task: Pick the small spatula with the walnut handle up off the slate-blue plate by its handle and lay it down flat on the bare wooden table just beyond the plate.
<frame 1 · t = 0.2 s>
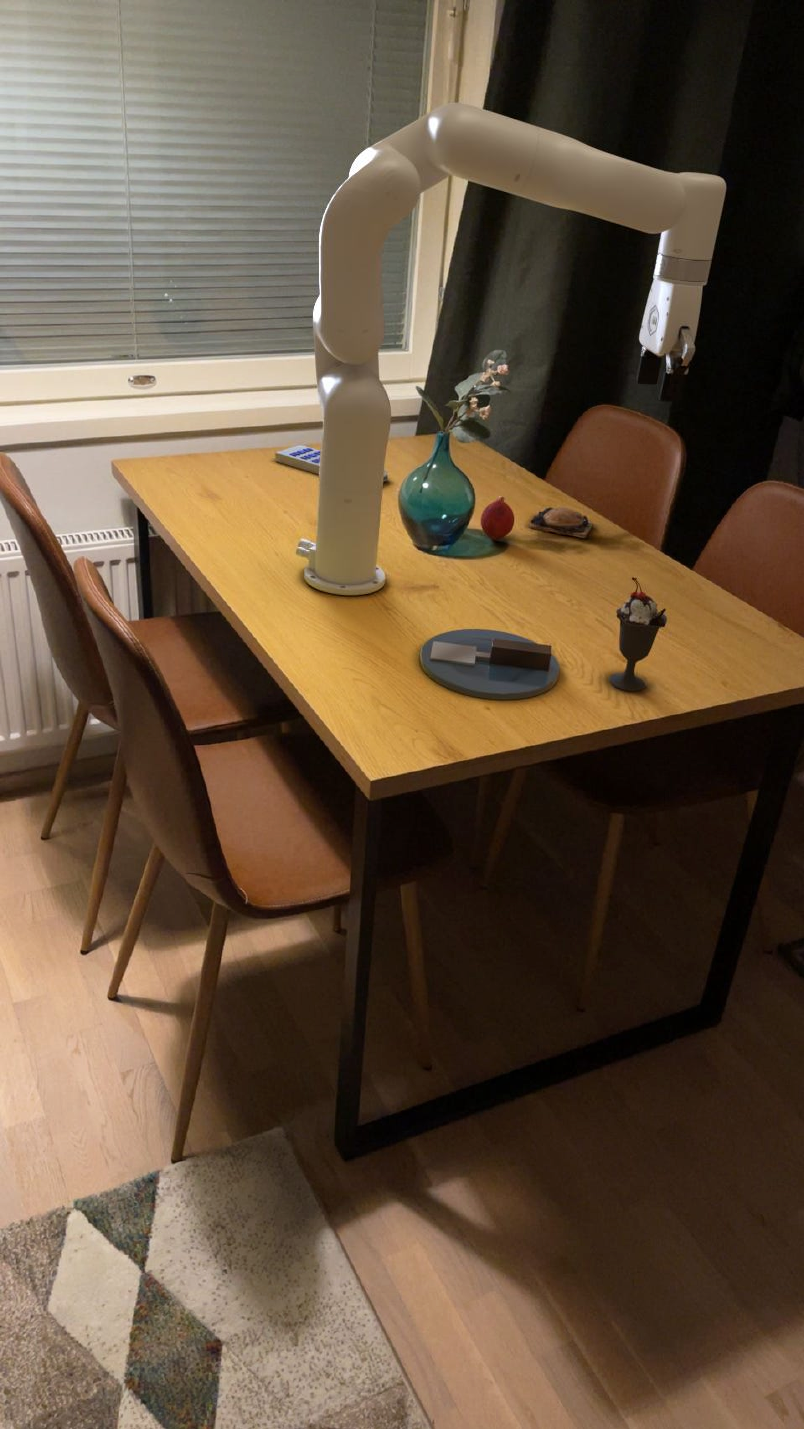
hand: (657, 392, 167), 31 cm above the table, tool pointing down, fingers open, 9 cm apart
remote control: (330, 471, 221), on the table
spatula: (489, 659, 153), point 1 cm above the table, touching plate
plate: (489, 665, 153), on the table
sundae: (626, 684, 153), on the table
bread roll: (561, 528, 204), on the table
onion: (494, 542, 195), on the table
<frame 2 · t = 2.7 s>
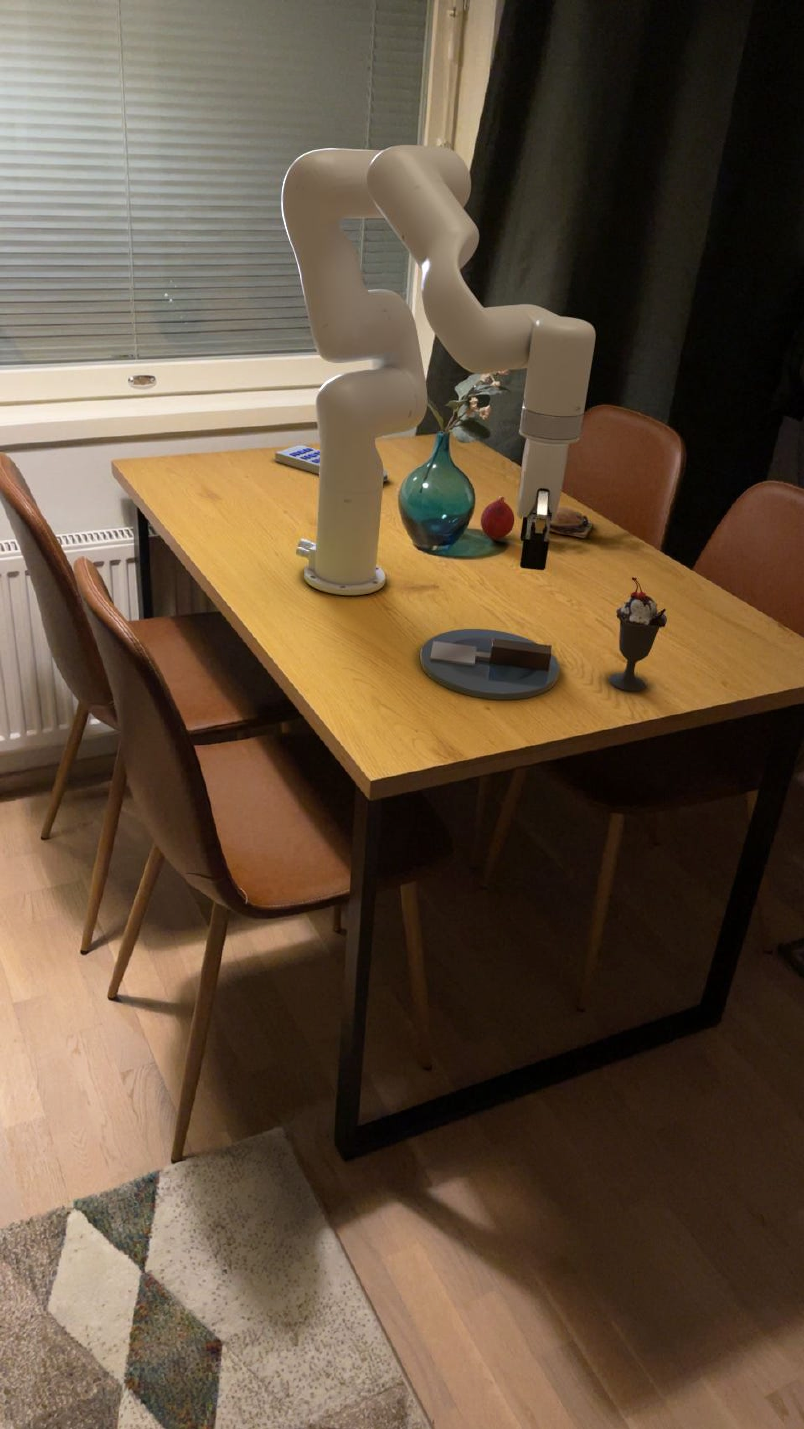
hand: (532, 554, 146), 16 cm above the table, tool pointing down, fingers open, 9 cm apart
nothing on the table moved.
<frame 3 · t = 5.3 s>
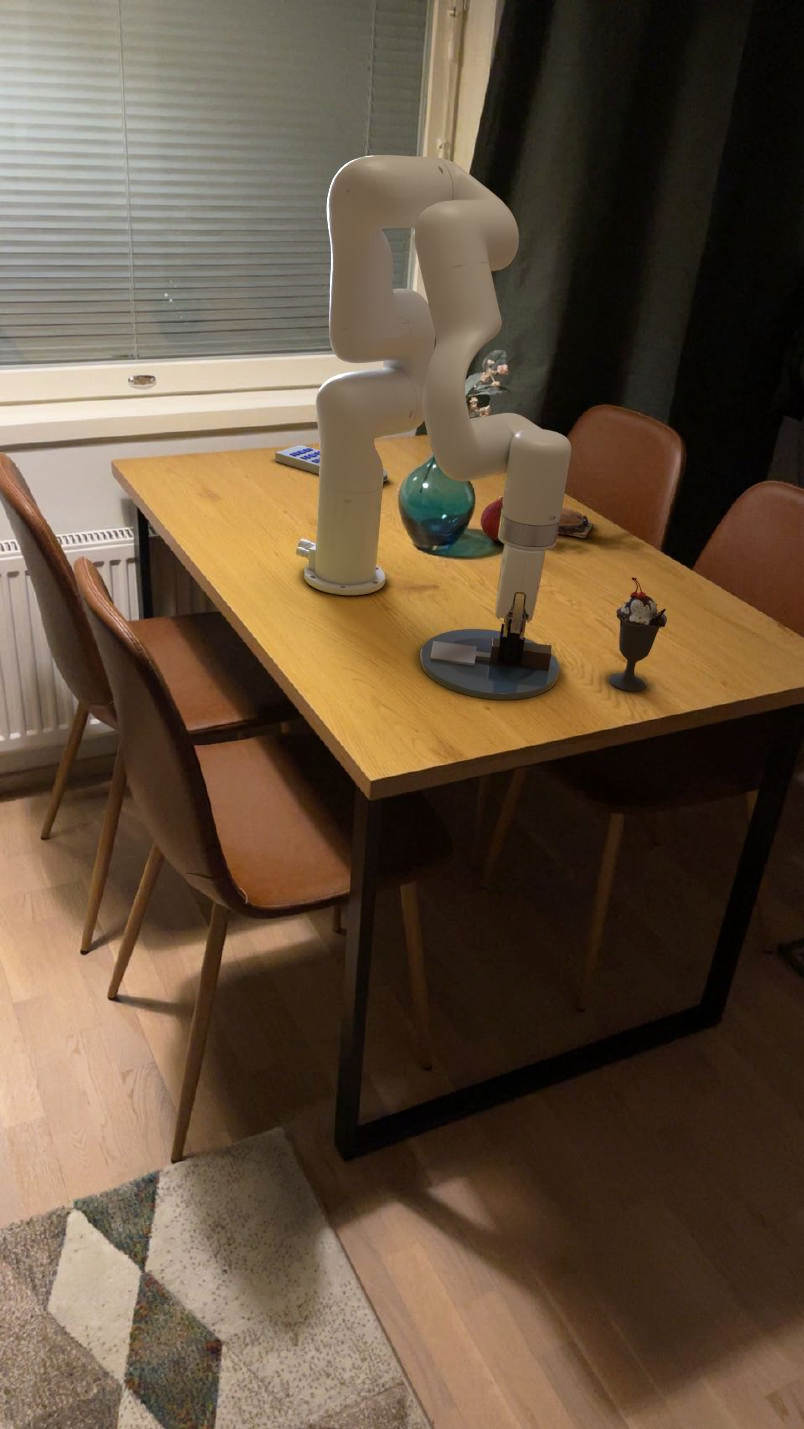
hand: (509, 656, 152), 2 cm above the table, tool pointing down, fingers closed on spatula, 2 cm apart
spatula: (489, 659, 153), point 1 cm above the table, touching gripper, plate
everything else where it was.
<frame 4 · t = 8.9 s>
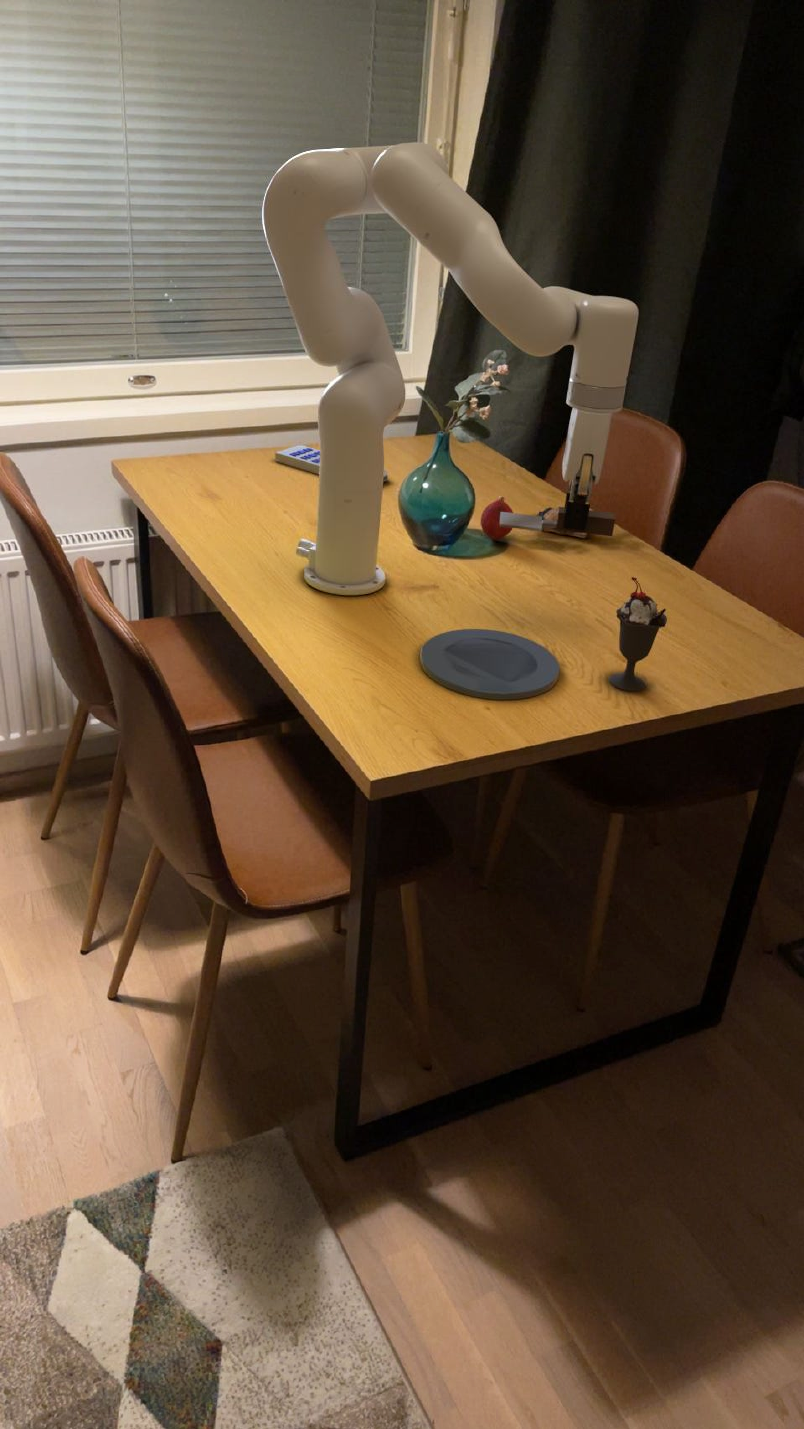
hand: (574, 523, 160), 16 cm above the table, tool pointing down, fingers closed on spatula, 2 cm apart
spatula: (555, 526, 160), point 15 cm above the table, touching gripper
everything else where it was.
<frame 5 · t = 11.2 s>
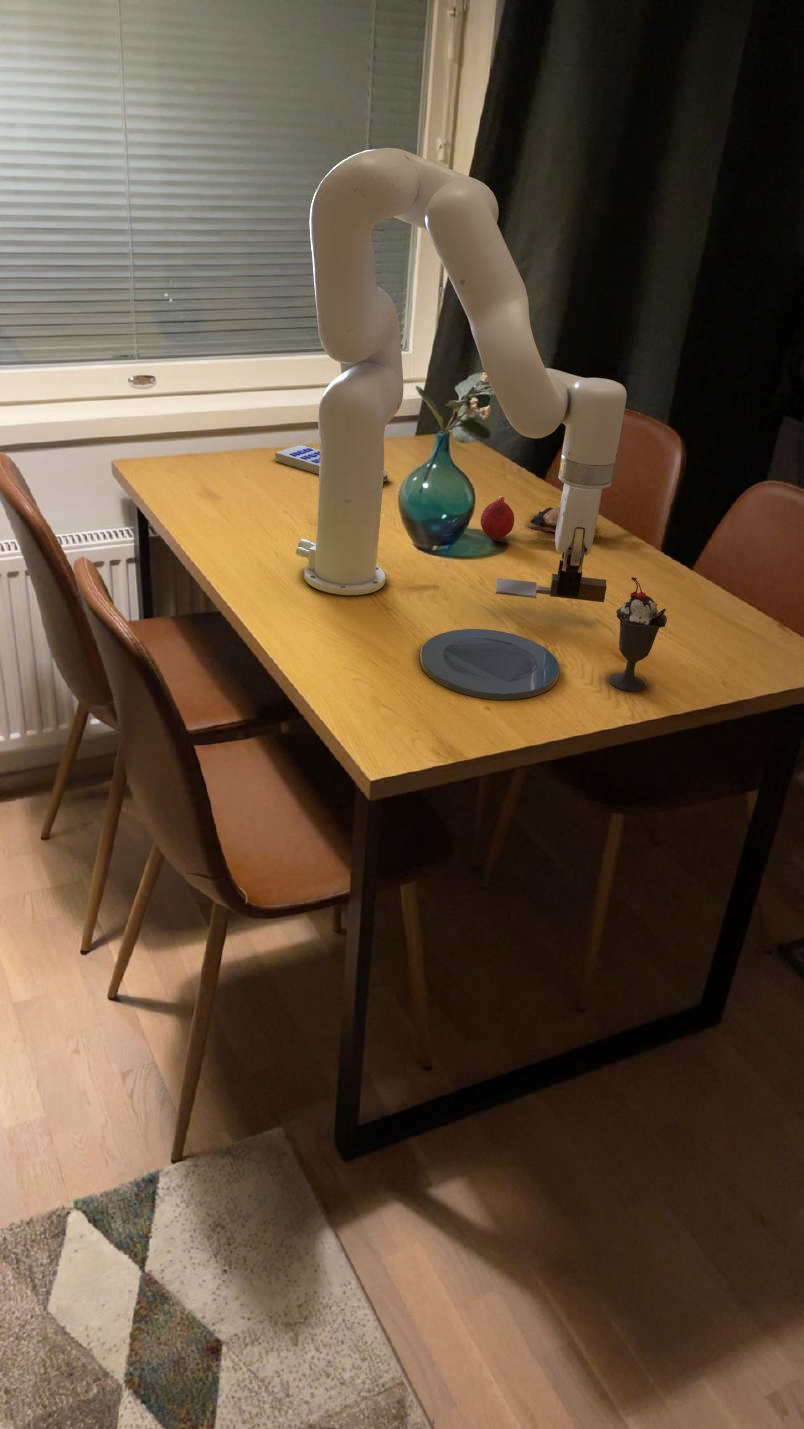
hand: (567, 590, 167), 5 cm above the table, tool pointing down, fingers closed on spatula, 2 cm apart
spatula: (549, 593, 167), point 4 cm above the table, touching gripper
everything else where it was.
when the fingers open (1 cm above the table, at t = 12.5 s): spatula stays where it is, on the table.
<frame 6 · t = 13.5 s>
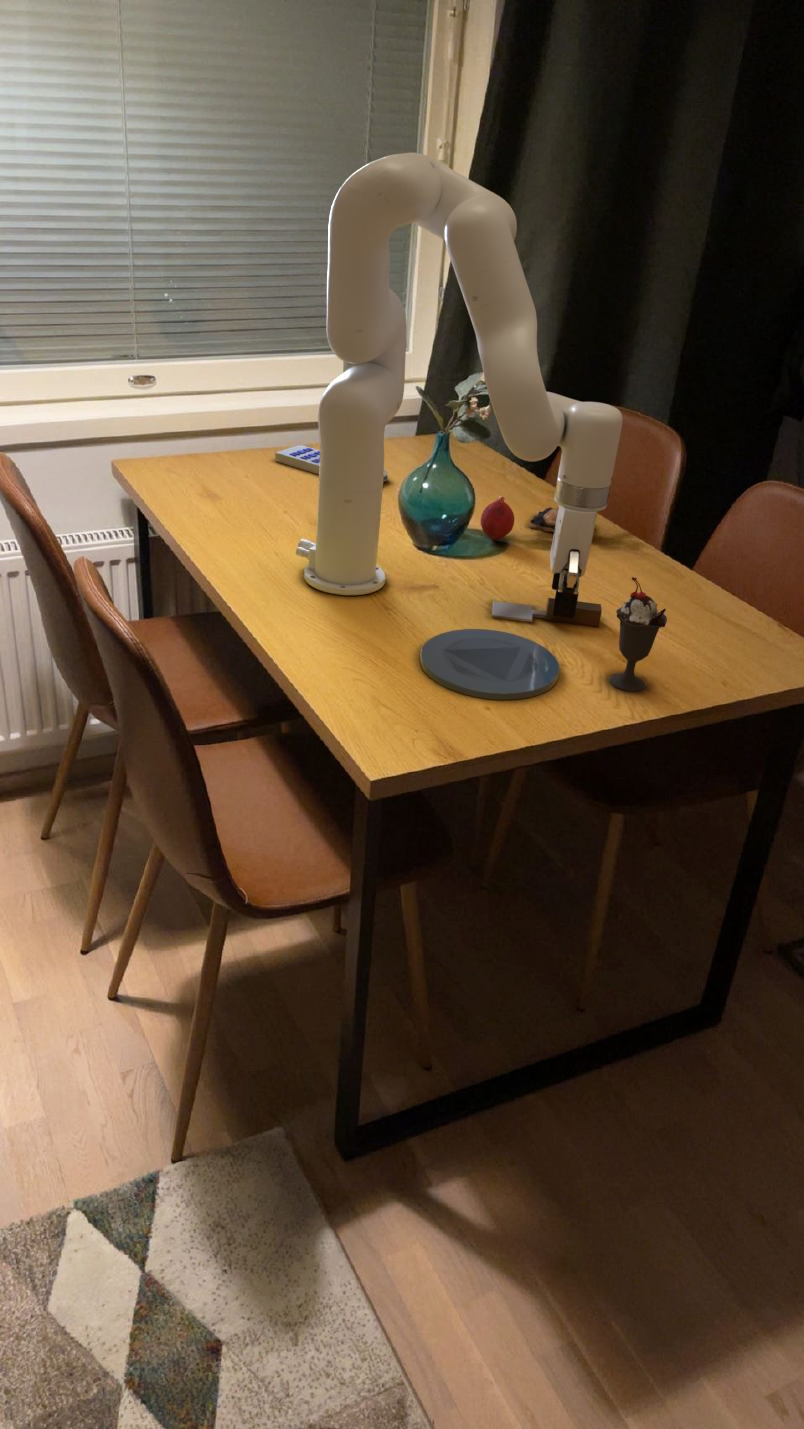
hand: (562, 603, 168), 3 cm above the table, tool pointing down, fingers open, 9 cm apart
spatula: (545, 616, 169), on the table
everything else where it was.
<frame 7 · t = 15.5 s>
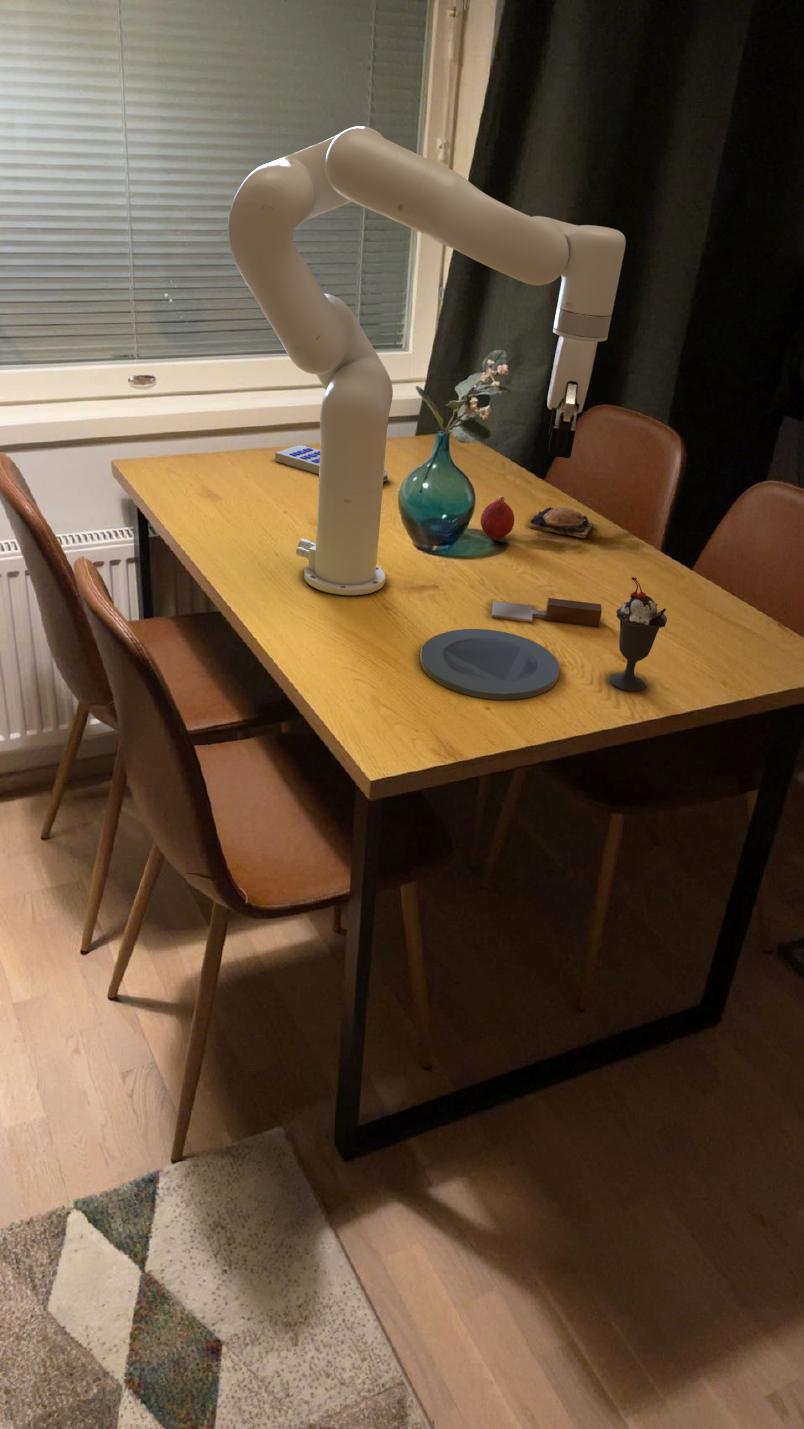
hand: (559, 446, 162), 24 cm above the table, tool pointing down, fingers open, 9 cm apart
nothing on the table moved.
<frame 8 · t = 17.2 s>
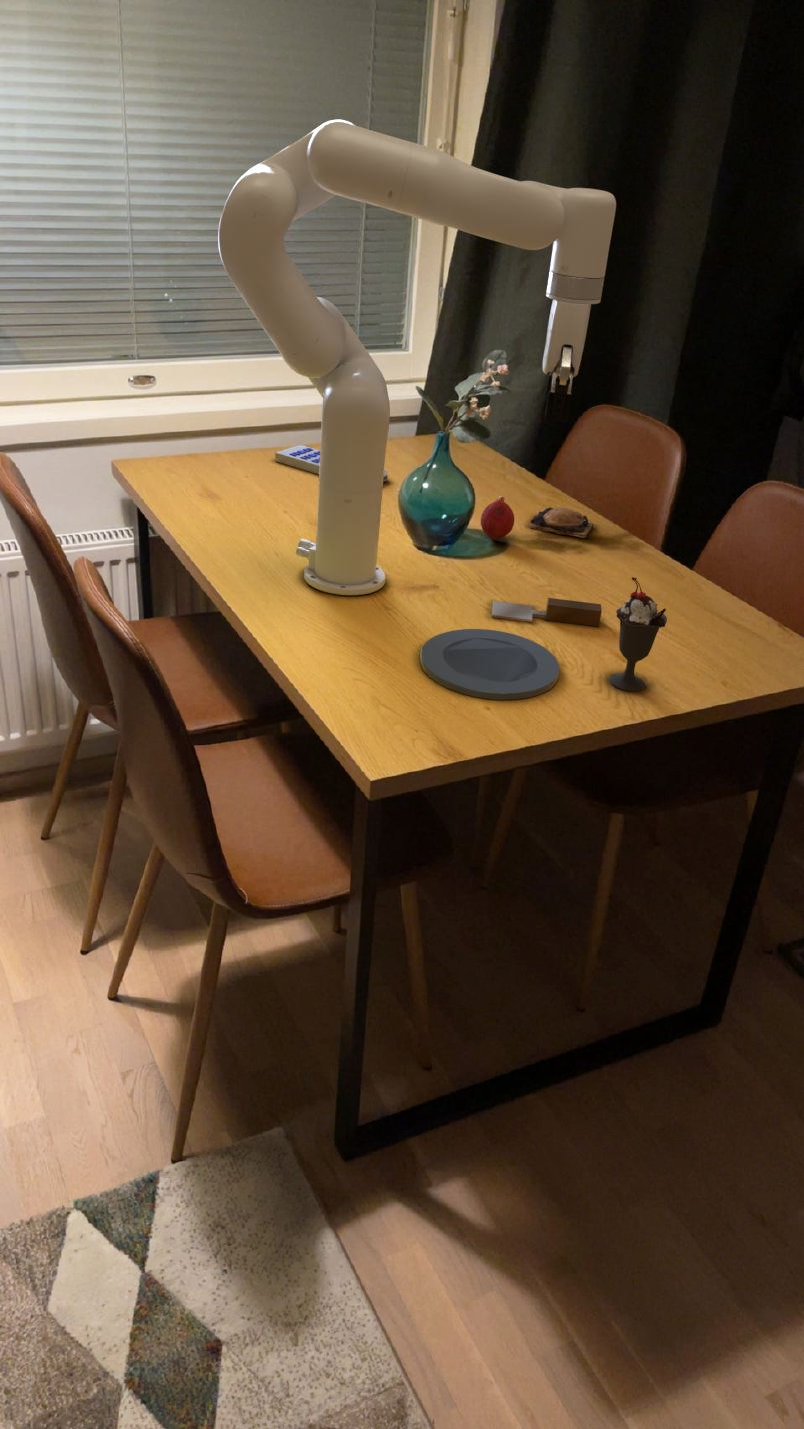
hand: (555, 412, 163), 28 cm above the table, tool pointing down, fingers open, 9 cm apart
nothing on the table moved.
at the end: spatula inside the target area (0.2 cm from its centre), on the table; spatula touching table; the gripper is holding nothing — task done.
